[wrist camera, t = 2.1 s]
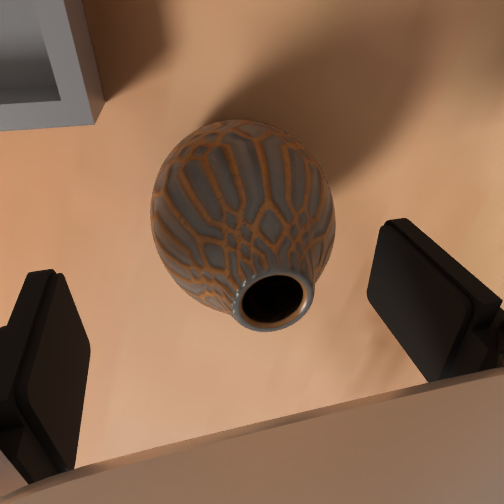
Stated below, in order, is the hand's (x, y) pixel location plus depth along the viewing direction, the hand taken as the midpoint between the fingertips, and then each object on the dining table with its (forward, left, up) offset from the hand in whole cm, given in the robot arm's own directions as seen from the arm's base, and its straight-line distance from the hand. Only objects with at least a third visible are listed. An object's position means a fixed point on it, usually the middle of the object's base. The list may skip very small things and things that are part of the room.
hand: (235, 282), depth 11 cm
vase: (-1, 0, -8) cm, 8 cm away
